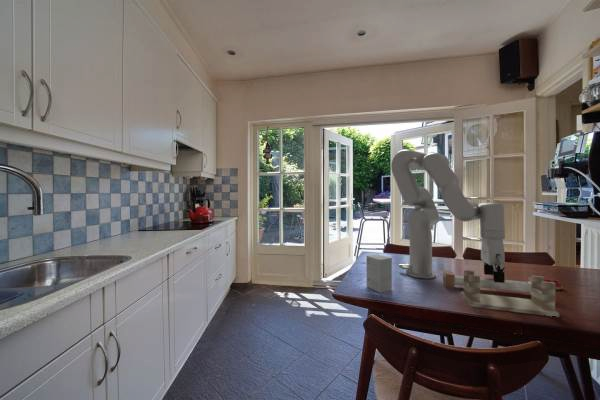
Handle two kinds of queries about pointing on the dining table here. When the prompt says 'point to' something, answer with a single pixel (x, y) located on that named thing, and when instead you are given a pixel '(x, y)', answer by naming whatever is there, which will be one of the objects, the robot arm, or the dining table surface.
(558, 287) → the ladybug figurine
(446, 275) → the steel bar
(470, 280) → the hanger stand
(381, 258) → the small box
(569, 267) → the dining table surface
